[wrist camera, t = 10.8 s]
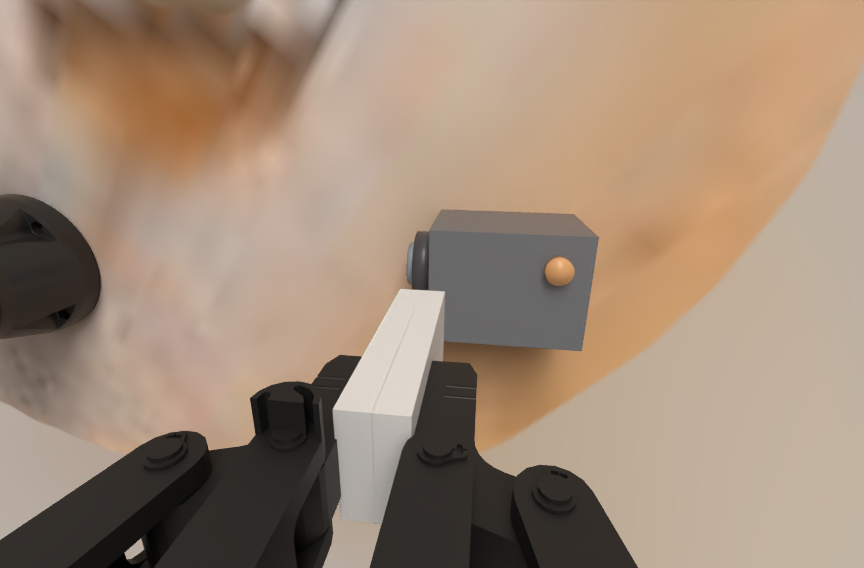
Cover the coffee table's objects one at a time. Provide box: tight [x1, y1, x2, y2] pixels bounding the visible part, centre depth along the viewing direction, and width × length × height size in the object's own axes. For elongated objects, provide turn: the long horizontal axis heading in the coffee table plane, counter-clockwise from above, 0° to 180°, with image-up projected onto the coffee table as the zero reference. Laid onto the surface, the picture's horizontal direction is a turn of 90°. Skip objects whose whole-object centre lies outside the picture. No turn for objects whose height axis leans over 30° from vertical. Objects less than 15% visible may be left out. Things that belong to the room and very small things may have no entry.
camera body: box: [407, 210, 599, 351], centre depth 36 cm, size 14×9×10 cm, turn 89°
